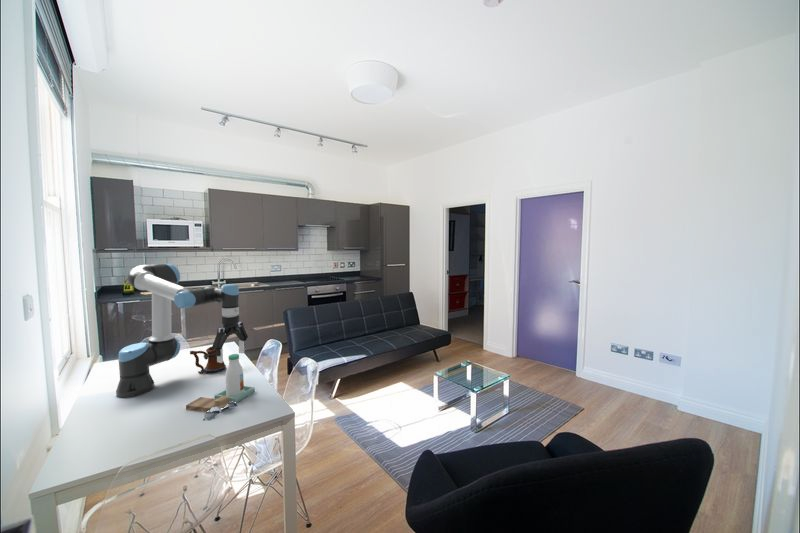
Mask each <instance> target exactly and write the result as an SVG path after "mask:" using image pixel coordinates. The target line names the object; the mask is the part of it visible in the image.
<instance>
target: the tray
mask: <svg viewBox="0 0 800 533" xmlns="http://www.w3.org/2000/svg"><path fill="white" fill-rule="evenodd" d="M255 390H256V388H255V386H248V385H244V393H243V394H241V395H239V396H238V397H236V398H235V397H229V401H233V402H236V404H238V403H239V402H241V401H243V400H245V399H246V398H248V397H249V396H251V395H253V394H254V393H255V392H256V391H255ZM222 396H226V388H225V389H224V390H221V391H220V392H218V393H216V394H215V395H214V399H218V398H220V397H222Z"/></svg>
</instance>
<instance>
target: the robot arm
mask: <svg viewBox="0 0 800 533" xmlns="http://www.w3.org/2000/svg"><path fill="white" fill-rule="evenodd" d="M126 276H127V277H126V278H127V279H126V280H127V281H128V284H129V285H130V286H131V287H132V288H135V289H136V290H139V291H148V292H150V293H151V336H150V337H148V342H138V343H133V344H130V345H126V346H125V347H123V348H121V349H120V350H119V352H118V359H117V360H118V366H119V367H118V368H119V381H118V384H117V387H116V389H115V395H116V397H118V398H131V397H136V396H140V395H143V394H146V393H149V392H150V391H152V390H153V389H154V388H155V381H154V380H153V377H152V375H151V373H150V367H151V366H154V365H158V364H161V363H164V362H169V361H170V360H173V359H174V358H176V357H177V356H178V355H179V353H180V351H181V343H180V342H179V340H178V338H177V337H176V336H175V335H174V334H173V332H172V301H173V302H174V304H175V306H176V307H177V308H179V309H185V308H186V309H188V308H189V309H190V308H193V307H197V306H202V305H208V304H212V303H218V304H221V316H222V317H221V324H222V327H217V330H216V331H217V332H216V335H215V338H214V340H213V344H212V346H211V347H212V349H215V350H216V356H217V362H219V363H223V361H224V354H223V353H224V350H223V347H222V346H224V344H225V342H226V341H227V339H228V338H229V337H230V336H232V335H235V336H236V337H237V338H238V353H239V354H245V346H246V341H247V339H248V338H249V336H248V334H247V331H246V329H245V327H244V322H241V321H240V289H239V285H238V284H237V283H236V284H235V283H227V284H222V285H221V287H216V286H205V287H204V288H201V289H199V288H197V289H190V288H187V287H185V286H182V285H180V284H179V282H180V281H181V274H180V270H179V269H178V268H177V266H176V265H174V264H173V263H172V264H171V263H155V264H154V263H151V264H141V265H140V264H139V265H136V266H134V267H132V269H130V270H129V271H128V274H127V275H126ZM215 346H216V347H215ZM221 348H222V349H221Z"/></svg>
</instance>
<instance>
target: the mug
mask: <svg viewBox="0 0 800 533" xmlns="http://www.w3.org/2000/svg"><path fill="white" fill-rule="evenodd" d="M223 346H224V345H223ZM223 346H222V348H221V349H223ZM215 347H216V346H215ZM198 354H202V355H203V356H202V357H203V359H204V360H205V361H206V360H207V363H206V365H205V366H203V365H202V364H200V358H199V356H198ZM189 355H193V357H194V358H195V361H194V362H195V363H194V364H195V366H196V368H200V371H197V373H198V374H203V373H205V374H209V375H211V374H216V373H221V372H224V371H226V369H227V368H226V367H227V365H226V364H225V361H224V360H223V363H219V362H217V356H216V350H215V349H212V346H210V347H208V348H206V349H205V350H190V351H189Z"/></svg>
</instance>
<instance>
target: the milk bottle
mask: <svg viewBox="0 0 800 533" xmlns="http://www.w3.org/2000/svg"><path fill="white" fill-rule="evenodd" d="M239 354H240V353H239ZM239 354H238V353H233V354H229V355H228V366H226V367H227V368H226V369H225V389H226V396H229V397H235V398H236V397H238V396H239V395H241V394H243V393H244V386H245V385H244V384H245V383H244V369H243V366H242V365H241V363H240V355H239Z"/></svg>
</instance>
